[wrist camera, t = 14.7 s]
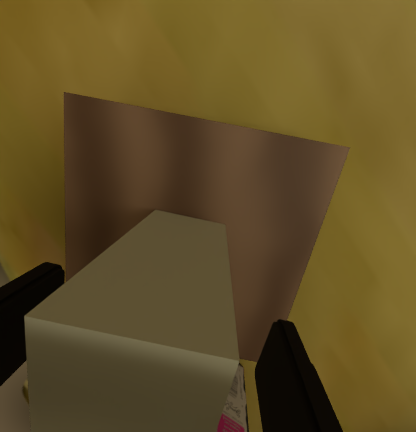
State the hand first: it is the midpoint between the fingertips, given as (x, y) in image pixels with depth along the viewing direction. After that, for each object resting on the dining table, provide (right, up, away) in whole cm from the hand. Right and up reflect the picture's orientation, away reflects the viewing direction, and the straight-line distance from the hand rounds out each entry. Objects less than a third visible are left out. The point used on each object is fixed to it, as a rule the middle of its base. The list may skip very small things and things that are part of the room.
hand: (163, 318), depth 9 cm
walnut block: (0, +4, +12) cm, 13 cm away
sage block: (0, +2, +6) cm, 6 cm away
